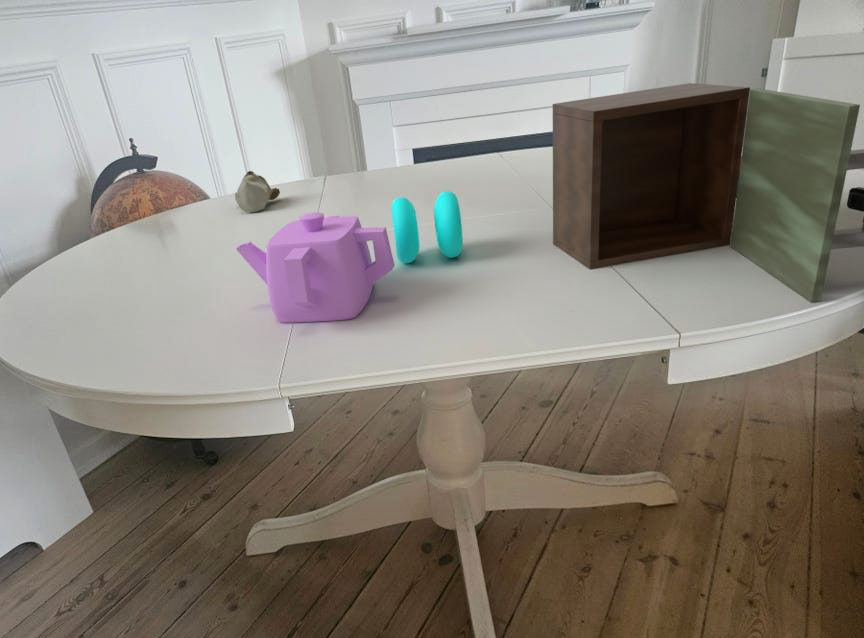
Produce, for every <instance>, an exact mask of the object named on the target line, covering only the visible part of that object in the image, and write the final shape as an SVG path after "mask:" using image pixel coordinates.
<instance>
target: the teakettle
mask: <svg viewBox="0 0 864 638" xmlns="http://www.w3.org/2000/svg"><path fill="white" fill-rule="evenodd" d="M369 241H370V242H372V245H373V251H374V252H373V253H374V260H375V261H372V256H371V252H370V247H369V243H368V242H369ZM265 250H266V251H263V250H262V249H261V248H259V247H258V246H256V245H255V244H254V243H253V242H252V241H247V242H245V243H242V244H239V245H238V246H237V247H236V251H237V252H238V253H239V255H241V256H242V258H243V259H244V260H245V261H246V262H247V264H249V266H250V267H251V268H252V269H253V270H254V272H255V273H256V274H257V275H258V276H259V278H261V280H262V281H263V282H264V283H265V284H266V285H267V291H268V299H269V305H270V309H271V311H272V313H273V316H274V317H275V319H276V320H277V321H278V323H281V324H283V323H284V324H285V323H287V324H289V323H292V324H293V323H317V322H335V321H346V320H353V319H354V318H356V317H357V316H359V315H360V313H361V312H362V311H363V310H364V308H365V307H366V305H367V304H368V302H369V300H370V298H371V294H372V291H373V285H374V283H375V282H377V281H378V280H380V279H381V278H383V277H384V276H386V275H388V274H389V273H390V272H392V271H393V269H394V267H395V261H394V257H393V252H392V249H391V244H390V239H389V236H388V230H387V226H382V227H381V226H380V227H379V226H378V227H375V226H374V227H363V226H362V224H361V222H360V219H359V217H358V216H357V215H344V216H339V215H332V216H327V217H325V214H324V213H323V212H319V211H318V212H317V211H314V212H308V213H303V214H302V215H300V216H299V218H298V219H297V220H293V221H290V222H289V223H287V224H286V225H284V226H283V227H282V228H280V229H279V230H278V231H277V232H276V233H274V234H273V236H271V238H270V239H269V240H268V242H267V244H266V249H265Z"/></svg>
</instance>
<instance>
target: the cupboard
mask: <svg viewBox="0 0 864 638" xmlns="http://www.w3.org/2000/svg"><path fill="white" fill-rule="evenodd" d="M750 90H751V87H750V86H737V85H736V86H735V85H723V84H722V85H720V84H705V83H692V82H689V83H688V82H687V83H682V84H675V85H668V86H662V87H656V88H650V89H643V90H636V91H629V92H628V91H627V92H622V93H616V94H610V95H603V96H597V97H590V98H584V99H577V100H570V101H564V102H557V103H556V102H555V103H552V245H553V246H555V247H556V248H557V249H559V250H560V251H562V252H563V253H565V254H567V255H568V256H569V257H571V258H572V259H573V260H575V261H577V262H578V263H579V264H581V265H583V267H585V268H587V270H591V271H592V270H595V269H603V268H607V267H613V266H619V265H624V264H630V263H636V262H640V261H641V262H642V261H646V260H647V261H648V260H654V259H657V258H659V259H660V258H665V257H670V256H671V257H672V256H675V255H677V256H678V255H682V254H689V253H693V252H698V251H699V252H700V251H705V250H710V249H716V248H722V247H728V246H730V245H731V237H732V230H733V222H734V214H735V206H736V195H737V187H738V179H739V172H740V164H741V156H742V151H743V143H744V136H745V128H746V120H747V112H748V104H749V96H750Z"/></svg>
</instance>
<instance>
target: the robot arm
mask: <svg viewBox="0 0 864 638" xmlns="http://www.w3.org/2000/svg"><path fill="white" fill-rule="evenodd" d="M846 207H847V209H850V210H854V211H858V212H862V213H864V187H862V186H857V187H856V186H855V187H852V188H850V189H849V192H848V196H847V200H846ZM863 223H864V216H863V217H862V224H863Z"/></svg>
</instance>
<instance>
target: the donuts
mask: <svg viewBox="0 0 864 638" xmlns="http://www.w3.org/2000/svg"><path fill="white" fill-rule="evenodd" d="M390 209H391V216H392V225H393V226H392V227H393V235H394V240H395V241H394V243H395V249H396V250H395V251H396V256H397V259H398V261H399V262H400V263H403V264H411V263H412V262H414V261H415V259H416V258H417V257H418V255H419V252H420V235H419V226H418V219H417V211H416V209H415V206H414V204H413V203H412V201H410V199H408V198H407V197H404V196H399V197H397V198H395V199H394V200H393V201H392V203H391V208H390ZM433 219H434V229H435V237H436V243H437V246H438V248H439V251H440V252H441V254H443V255H444V256H445V257H446V258H449V259H453V258H456V257H458V256H460V255H461V253H462V250H463V240H464V239H463V225H462V217H461V209H460V203H459V199H458V197H457V196H456V194H455V193H454V192H453V191H450V190H447V191H443V192H441V193H439V195H438V196H437V197H436V199H435V202H434V206H433Z"/></svg>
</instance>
